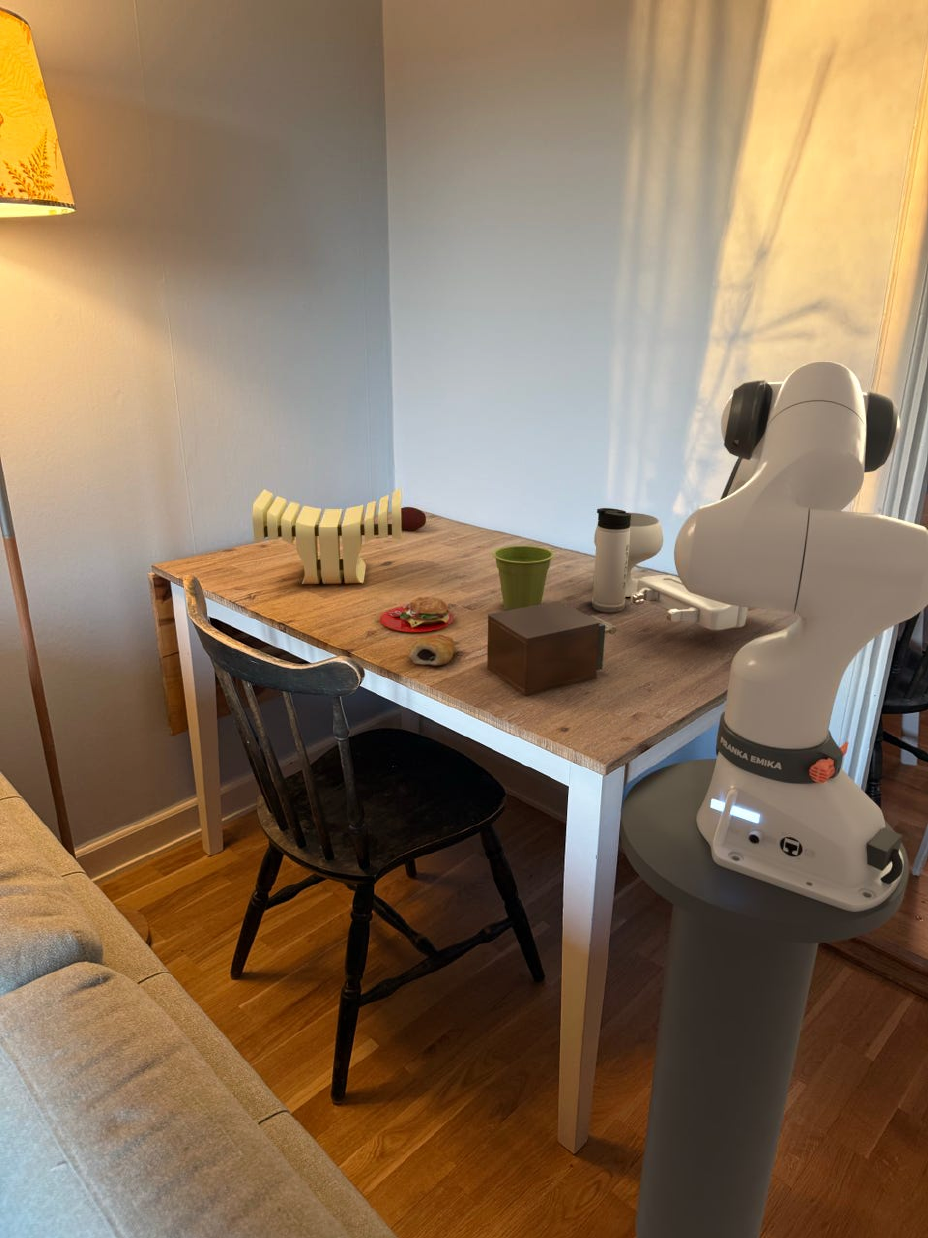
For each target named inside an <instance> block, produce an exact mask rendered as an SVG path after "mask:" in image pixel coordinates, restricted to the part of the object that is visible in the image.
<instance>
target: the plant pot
mask: <svg viewBox="0 0 928 1238" xmlns="http://www.w3.org/2000/svg"><path fill="white" fill-rule="evenodd" d="M492 556H493V558H495V564H496V568H497V570H498V576H499V584H500V589H501V590H500V591H501V596H502V603H503V607H504V609H505V611H508V610H513V609H518V608H523V607H528V606H533V605H538V604H542V602H543V597H544V591H545V585H546V581H547V576H548V571H549V569H550V566H551V561H552V559H553V558H554V556H555V552H553V550H551V549H549V548H546V547H542V546H534V545H510V546H503V547H499V548H497V549H494V551H493V552H492Z"/></svg>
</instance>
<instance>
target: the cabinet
mask: <svg viewBox="0 0 928 1238" xmlns="http://www.w3.org/2000/svg"><path fill="white" fill-rule="evenodd" d="M567 605H568V604H564V603H563V602H561V601H559V600H553V601H548V602H543V603H541V604H538V605H533V606H528V607H523V608H518V609H513V610H503V611H497V612H493V613H489V614H487V662H486V668H487V669H488V670H489V671H490V672H491V673H493V674H494V675H496V677H498V678H499V679H501V680H502V681H504V682H505V683H506V684H508V685H509V686H511V687H512V688H514V689H515V690H516V691H517V692H519V693H520V694H522V695H523V696H525V697H527V696H530V695H535V694H538V693H543V692H546V691H547V692H548V691H550V690H554V689H559V688H561V687H562V688H563V687H566V686H570V685H574V684H578V683H582V682H585V681H590V680H593V679H596V678H597V671H596V669H597V654H598V639H599V624H600V623H599V622H597V621H595V620H593V619H591V618H589V617H590V616H589V617H587V616H588V615H587V614H585V613H583V612H582V613H583V614H582V613H580V612H581V611H580V612H578V611H579V610H578V611H576V610H577V609H576V610H574V609H575V608H574V609H572V608H573V607H572V608H570V607H571V606H570V607H568V606H569V605H568V606H567ZM584 614H585V615H584ZM586 615H587V616H586Z"/></svg>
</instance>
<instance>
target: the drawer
mask: <svg viewBox="0 0 928 1238" xmlns="http://www.w3.org/2000/svg"><path fill="white" fill-rule="evenodd" d="M566 605H567V606H568V607H570V608H572V609H574V610H576V611H578V612H580V613H582V614H584V615H586V616H587V617H589V618H591V619H593V620H595V621H597V622H599V623H600V624H599V639H598V654H597V669H596V672H597V671H598V672H599V671H601V670H603V665H604V652H605V651H604V650H605V638H606V634H611V635H615V634H616V633H617V631H618V628H617V626H615V625H613V624H611V623H610V622H608V621H605V620H603V619H601V618H600V617H598V616H596V615H595V614H592V615H590V616H589V615H587V614H586V613H584V612H581V611H580V610H578V609H577V608H576V609H575V608H574V607H572V606H570V605H568V604H566Z"/></svg>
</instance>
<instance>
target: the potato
mask: <svg viewBox="0 0 928 1238" xmlns="http://www.w3.org/2000/svg"><path fill="white" fill-rule="evenodd" d="M426 523H427V515H426V514H425V513H424V511H422V510H421V509H418V508H416V507H414V506H413V507H412V506H403V507H401V530H406V531H416V530H421V528H423V527H424V526H425V525H426Z"/></svg>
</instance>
